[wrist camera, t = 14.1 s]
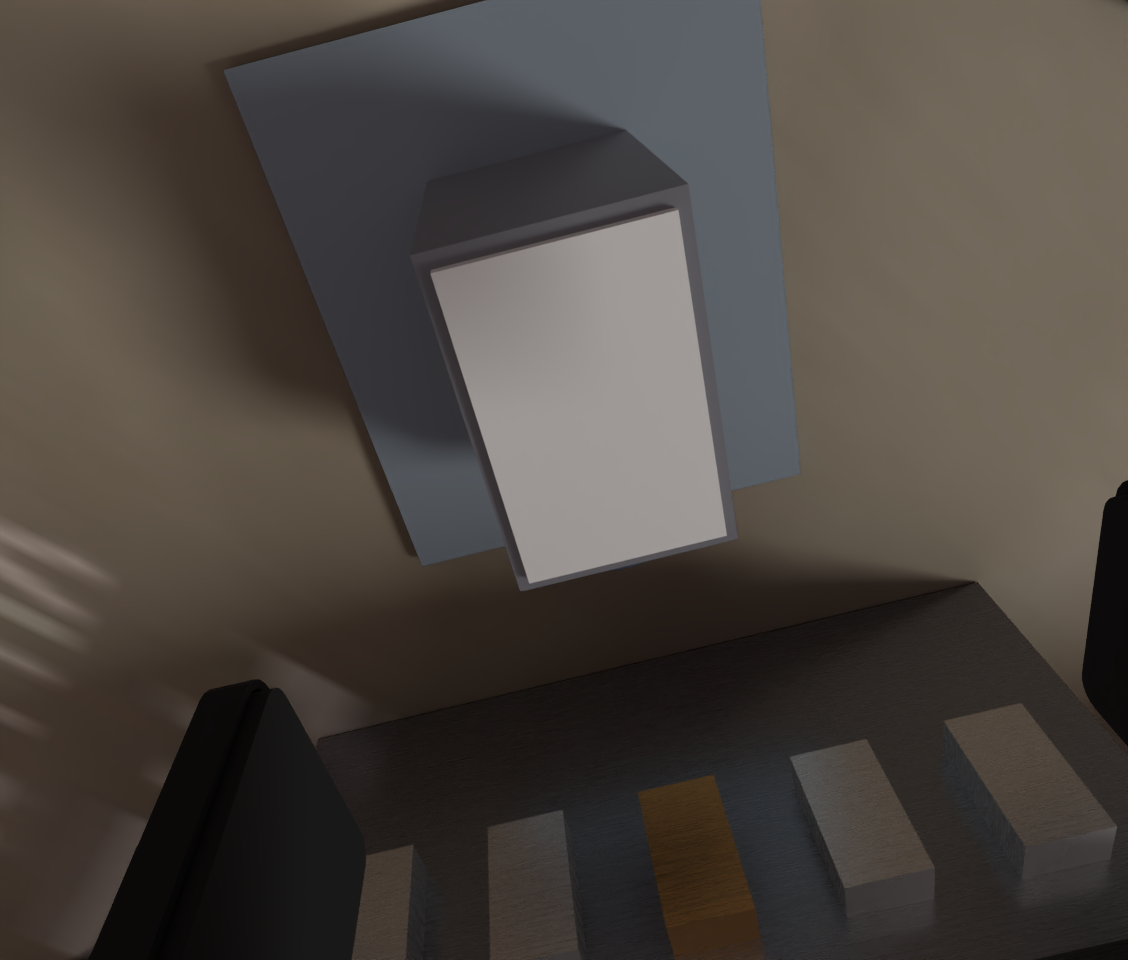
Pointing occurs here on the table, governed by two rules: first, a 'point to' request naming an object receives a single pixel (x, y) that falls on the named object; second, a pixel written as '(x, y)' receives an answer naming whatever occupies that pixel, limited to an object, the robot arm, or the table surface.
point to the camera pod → (580, 355)
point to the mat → (500, 133)
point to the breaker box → (755, 805)
